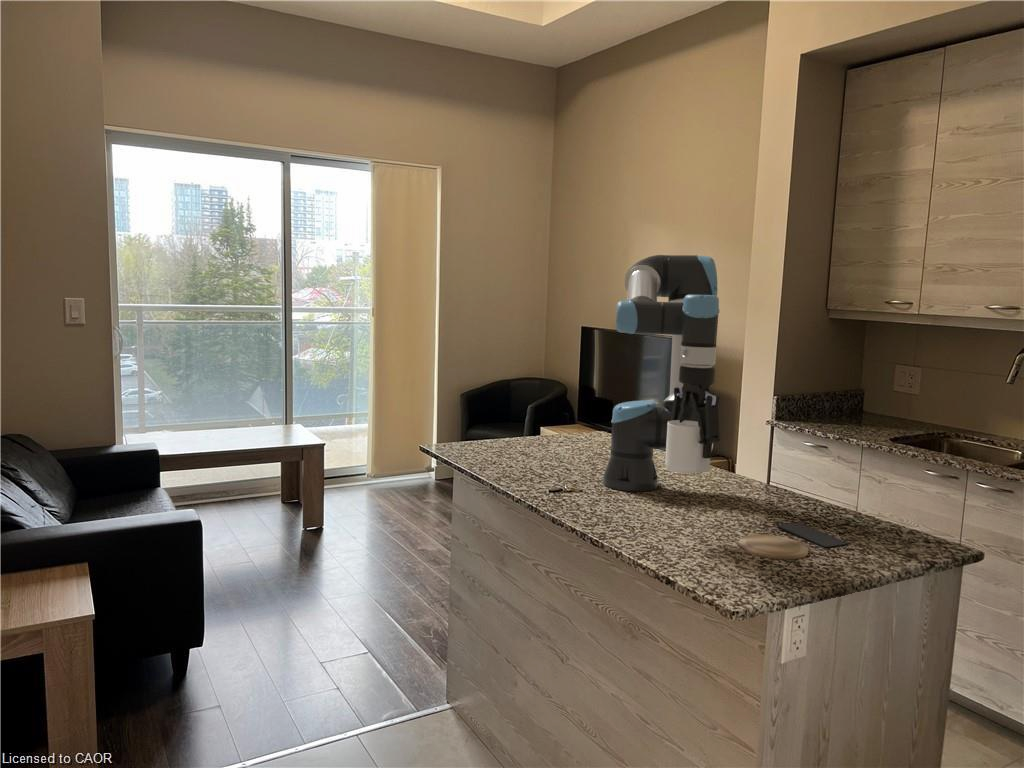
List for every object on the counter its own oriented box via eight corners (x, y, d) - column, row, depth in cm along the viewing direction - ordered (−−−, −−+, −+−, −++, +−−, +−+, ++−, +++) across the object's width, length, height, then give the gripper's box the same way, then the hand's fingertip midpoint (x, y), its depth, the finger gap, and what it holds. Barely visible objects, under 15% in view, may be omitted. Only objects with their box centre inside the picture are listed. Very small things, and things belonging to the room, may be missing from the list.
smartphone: (825, 547, 157) (774, 524, 171) (825, 551, 158) (774, 528, 171) (851, 543, 160) (799, 521, 174) (850, 547, 161) (798, 525, 174)
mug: (699, 462, 171) (702, 418, 169) (724, 470, 163) (727, 424, 162) (657, 466, 166) (659, 421, 164) (681, 475, 158) (683, 428, 157)
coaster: (725, 540, 161) (725, 537, 161) (777, 534, 166) (777, 531, 166) (768, 562, 148) (768, 559, 148) (823, 555, 153) (823, 552, 153)
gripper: (656, 360, 170) (651, 457, 173) (711, 371, 150) (705, 480, 153) (684, 360, 172) (679, 455, 175) (742, 371, 153) (735, 477, 156)
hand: (691, 467), depth 164 cm, fingers closed on mug, 8 cm apart
